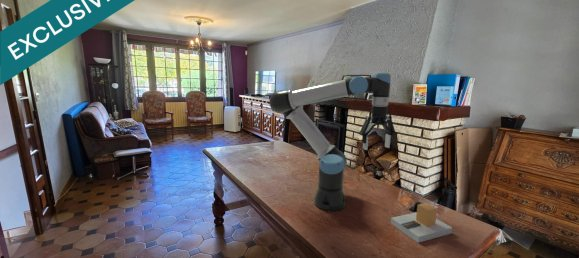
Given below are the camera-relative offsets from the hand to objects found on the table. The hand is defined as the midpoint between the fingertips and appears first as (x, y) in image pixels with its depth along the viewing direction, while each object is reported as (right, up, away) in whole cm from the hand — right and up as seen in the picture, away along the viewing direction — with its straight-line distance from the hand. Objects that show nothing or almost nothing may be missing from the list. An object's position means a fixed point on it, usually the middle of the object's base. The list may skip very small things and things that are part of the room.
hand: (376, 148), depth 124 cm
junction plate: (+11, -31, -21) cm, 39 cm away
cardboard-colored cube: (+13, -29, -22) cm, 38 cm away
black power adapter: (+18, -30, -8) cm, 35 cm away
